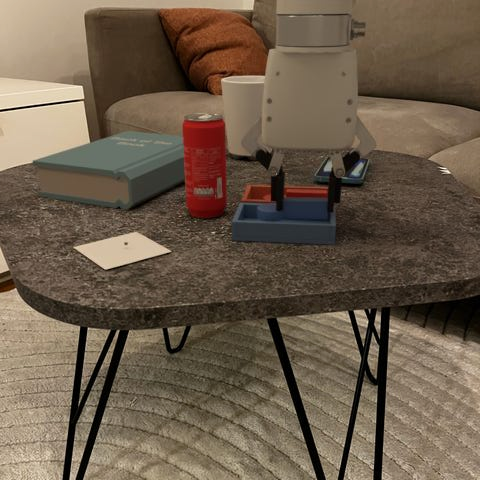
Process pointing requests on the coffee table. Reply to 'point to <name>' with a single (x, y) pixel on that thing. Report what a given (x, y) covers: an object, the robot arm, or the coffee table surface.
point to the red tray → (269, 192)
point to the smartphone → (351, 176)
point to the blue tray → (281, 228)
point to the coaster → (121, 250)
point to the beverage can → (205, 164)
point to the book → (114, 170)
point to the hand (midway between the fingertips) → (305, 206)
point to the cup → (242, 111)
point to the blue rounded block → (294, 209)
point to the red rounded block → (302, 194)
